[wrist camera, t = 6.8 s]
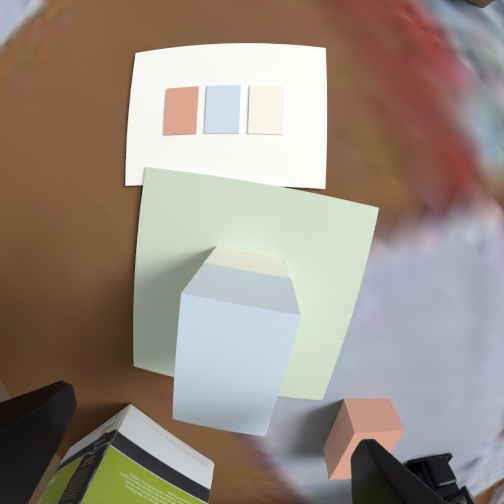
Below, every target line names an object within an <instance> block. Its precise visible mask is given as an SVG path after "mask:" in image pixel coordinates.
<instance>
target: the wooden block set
mask: <svg viewBox="0 0 504 504" xmlns="http://www.w3.org/2000/svg"><path fill="white" fill-rule="evenodd" d="M468 1H470V2H472V3H474V4H476V5H477V6H479V7H481V8H484V7H486V6H487V5H489V4H490V3H492V2H493V1H495V0H468Z"/></svg>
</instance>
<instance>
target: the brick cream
mask: <svg viewBox="0 0 504 504" xmlns="http://www.w3.org/2000/svg"><path fill="white" fill-rule="evenodd" d="M204 263H209V264H214V265H220V266H225V267H230V268H236V269H241V270H247V271H252V272H258V273H263V274H269V275H274V276H280V277H286V278H289V274H288V270H287V266H286V262H285V258H280V257H274V256H269V255H263V254H257V253H252V252H246V251H241V250H235V249H229V248H224V247H218V246H216V248H215V249H214V250H213V252H212V253H211V254H210V255H209V257H208V258H207V259H206V261H205V262H204ZM204 263H203V264H204Z"/></svg>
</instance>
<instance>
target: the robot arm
mask: <svg viewBox="0 0 504 504" xmlns="http://www.w3.org/2000/svg"><path fill="white" fill-rule="evenodd" d="M76 406H77V403H76V398H75V394H74V389H73V386H72V385H71V384H69V383H66V382H64V381H58V382H55V383H53V384H50V385H48V386H45V387H42V388H40V389H37V390H34V391H31V392H29V393H26V394H23V395H20V396H18V397H15V398H12V399H10V400H6V401H4V402H1V403H0V504H28V503H29V501H30V499H31V496H32V495H33V493H34V491H35V489H36V487H37V485H38V483H39V482H40V480H41V478H42V476H43V474H44V472H45V471H46V469H47V467H48V465H49V463H50V462H51V460H52V458H53V456H54V455H55V453H56V451H57V449H58V448H59V446H60V444H61V442H62V440H63V437H64V435H65V433H66V430H67V428H68V426H69V423H70V421H71V419H72V417H73V414H74V412H75V410H76ZM452 457H453V456H452V454H451V453H450V454H445V455H440V456H435V457H429V458H423V459H417V460H412V461H410V462H408V463H407V464H406V466H404V465H403V464H401V463H400V462H399V461H398V460H397V459H396V458H395V457H394V456H393V455H392V454H390V453H389V452H388V451H387V450H386V449H385V448H384V447H383V446H382V445H381V444H380V443H378V442H377V441H376V440H375V439H362V440H361V441H360V442H359V444H358V445H357V447H356V448H355V450H354V452H353V453H352V455H351V483H352V501H353V504H464V503H465V502H467V504H476V502H475V500H474V498H473V496H472V494H471V493H470V491H469V490H468V489H467V487H466V486H463V487H462V488H461V489H460V490H459V488H458V486H457V484H456V481H457V479H456V477H455V475H454V473H453V471H452V470H451V468H450V466H449V464H448V462H449V461H450V460H451V458H452Z"/></svg>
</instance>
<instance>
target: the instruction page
mask: <svg viewBox="0 0 504 504" xmlns="http://www.w3.org/2000/svg"><path fill="white" fill-rule="evenodd" d="M326 146H327V79H326V48H319V47H310V46H299V45H284V44H255V43H239V44H211V45H196V46H185V47H175V48H167V49H160V50H153V51H146V52H140V53H136V55H135V62H134V69H133V77H132V85H131V94H130V104H129V116H128V130H127V147H126V184H125V186H132V185H143V184H144V177H145V170H146V167H151V168H160V169H168V170H176V171H184V172H192V173H199V174H206V175H213V176H220V177H226V178H233V179H239V180H245V181H251V182H257V183H262V184H268V185H274V186H282V187H301V188H317V189H325V179H326Z"/></svg>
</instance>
